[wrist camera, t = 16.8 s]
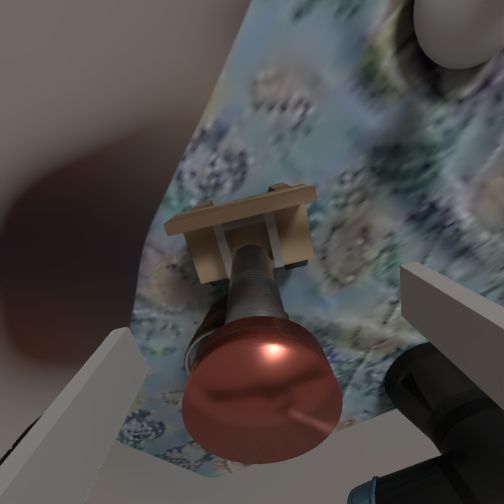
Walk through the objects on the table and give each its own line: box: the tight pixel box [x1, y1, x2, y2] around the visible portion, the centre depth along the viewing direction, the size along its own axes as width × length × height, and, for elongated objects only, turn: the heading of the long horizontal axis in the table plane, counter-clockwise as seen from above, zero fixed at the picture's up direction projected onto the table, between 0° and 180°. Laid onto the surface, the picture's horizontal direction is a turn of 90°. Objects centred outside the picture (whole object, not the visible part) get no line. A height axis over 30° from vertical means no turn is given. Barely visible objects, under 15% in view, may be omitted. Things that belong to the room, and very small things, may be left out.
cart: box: [164, 183, 317, 287], centre depth 25 cm, size 10×12×12 cm
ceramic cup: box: [184, 294, 289, 378], centre depth 30 cm, size 13×10×10 cm
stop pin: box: [182, 244, 343, 464], centre depth 12 cm, size 5×5×11 cm
